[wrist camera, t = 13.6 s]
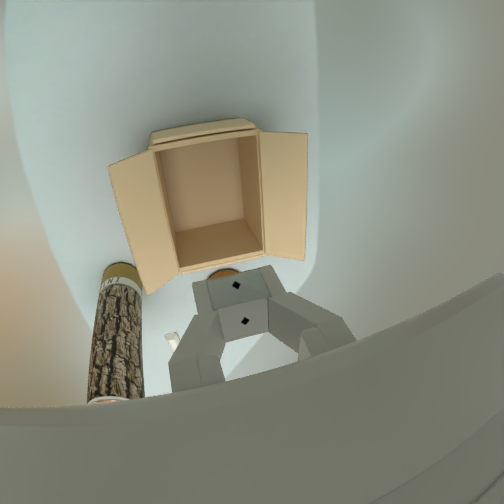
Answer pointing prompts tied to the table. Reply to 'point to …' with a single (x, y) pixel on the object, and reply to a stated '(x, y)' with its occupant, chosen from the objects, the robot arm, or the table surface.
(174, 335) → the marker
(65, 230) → the table surface
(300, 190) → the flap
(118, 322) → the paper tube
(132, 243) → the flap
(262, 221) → the carton
